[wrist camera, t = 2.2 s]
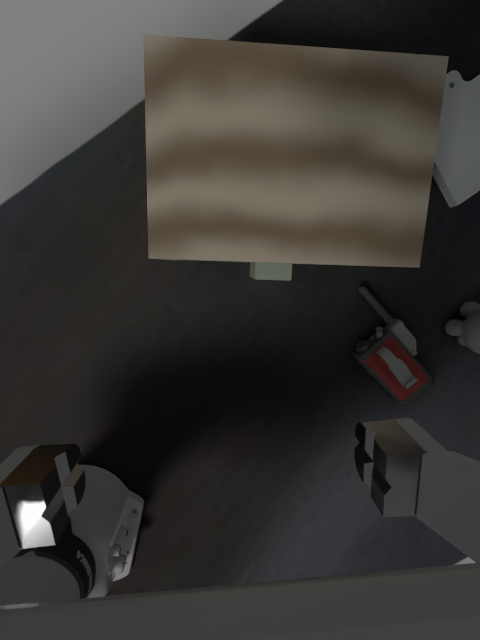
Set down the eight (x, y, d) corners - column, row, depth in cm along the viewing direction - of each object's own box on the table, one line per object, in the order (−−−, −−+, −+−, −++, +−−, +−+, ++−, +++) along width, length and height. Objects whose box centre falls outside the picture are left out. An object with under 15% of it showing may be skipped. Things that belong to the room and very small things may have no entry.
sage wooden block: (279, 277, 45) (291, 280, 37) (249, 276, 45) (254, 279, 37) (281, 250, 44) (293, 247, 36) (250, 248, 44) (256, 245, 36)
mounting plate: (396, 112, 42) (404, 105, 40) (477, 52, 41) (489, 42, 39) (455, 222, 45) (465, 220, 43) (532, 169, 44) (545, 165, 42)
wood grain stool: (351, 266, 45) (419, 267, 29) (176, 260, 44) (148, 258, 28) (364, 134, 42) (448, 56, 26) (175, 123, 40) (143, 34, 25)
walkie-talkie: (438, 369, 49) (361, 281, 46) (459, 379, 45) (375, 282, 42) (397, 405, 50) (318, 320, 47) (413, 418, 46) (328, 326, 42)
